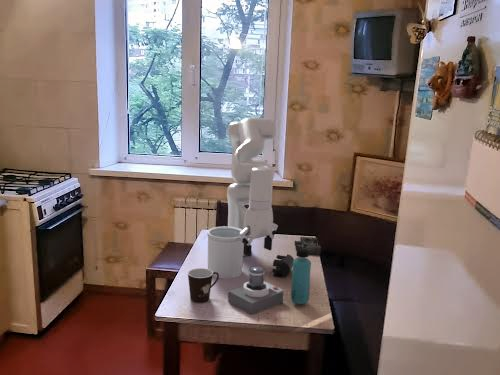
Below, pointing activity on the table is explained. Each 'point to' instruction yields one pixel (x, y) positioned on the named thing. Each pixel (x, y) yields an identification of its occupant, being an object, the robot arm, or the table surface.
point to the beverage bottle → (301, 277)
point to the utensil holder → (225, 251)
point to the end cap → (282, 265)
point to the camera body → (255, 297)
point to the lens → (256, 278)
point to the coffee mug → (200, 284)
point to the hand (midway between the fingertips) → (257, 252)
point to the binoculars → (308, 245)
